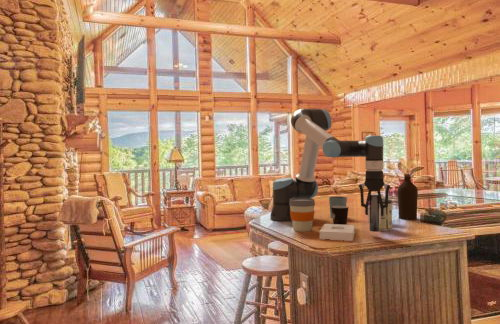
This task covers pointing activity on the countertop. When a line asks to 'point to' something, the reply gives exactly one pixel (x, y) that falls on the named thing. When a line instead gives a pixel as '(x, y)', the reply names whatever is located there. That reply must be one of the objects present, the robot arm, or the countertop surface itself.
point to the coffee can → (386, 217)
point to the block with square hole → (337, 232)
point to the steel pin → (374, 213)
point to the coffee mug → (340, 214)
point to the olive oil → (407, 199)
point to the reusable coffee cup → (302, 213)
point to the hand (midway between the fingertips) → (374, 222)
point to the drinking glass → (337, 202)
